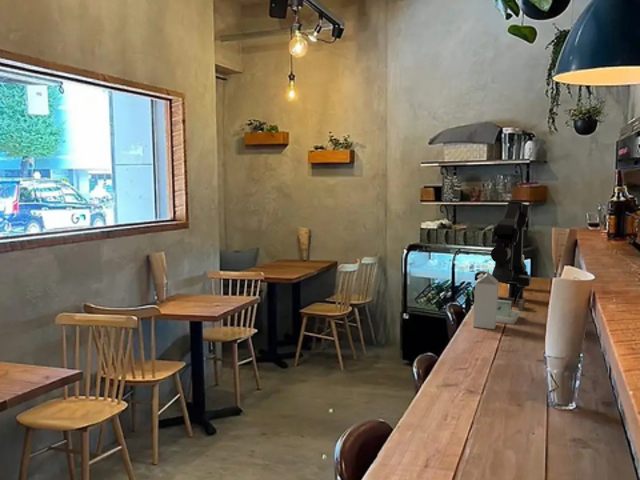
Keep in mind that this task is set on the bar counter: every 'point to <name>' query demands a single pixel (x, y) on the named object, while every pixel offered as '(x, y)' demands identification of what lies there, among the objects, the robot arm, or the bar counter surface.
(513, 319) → the tray
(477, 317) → the milk carton
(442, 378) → the bar counter surface
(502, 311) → the block with peg handle
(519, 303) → the dock
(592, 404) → the bar counter surface
